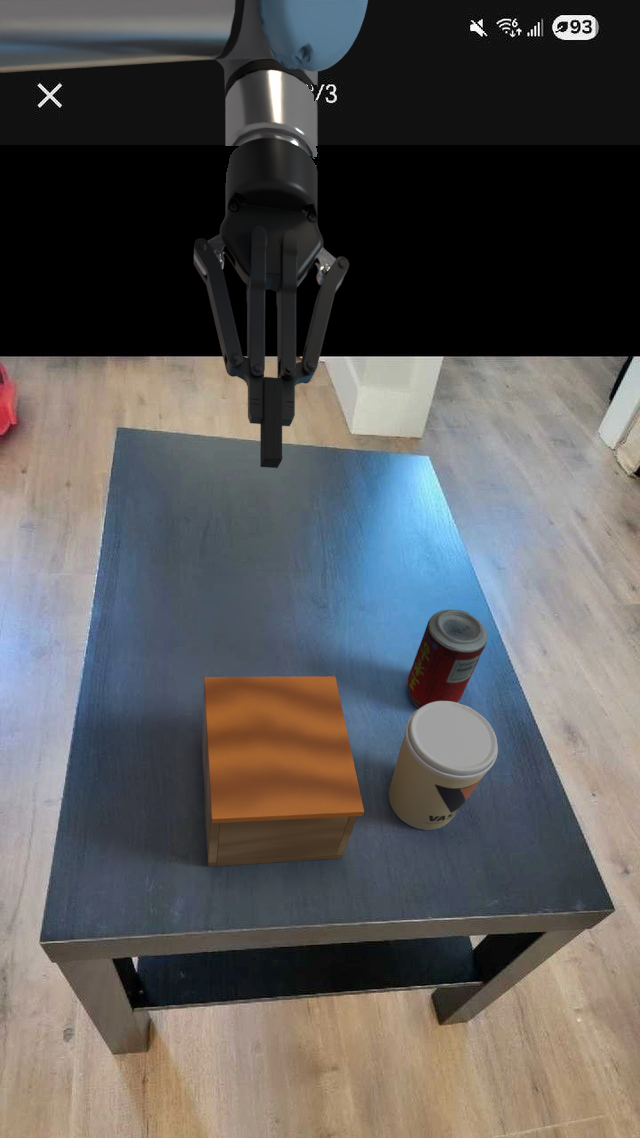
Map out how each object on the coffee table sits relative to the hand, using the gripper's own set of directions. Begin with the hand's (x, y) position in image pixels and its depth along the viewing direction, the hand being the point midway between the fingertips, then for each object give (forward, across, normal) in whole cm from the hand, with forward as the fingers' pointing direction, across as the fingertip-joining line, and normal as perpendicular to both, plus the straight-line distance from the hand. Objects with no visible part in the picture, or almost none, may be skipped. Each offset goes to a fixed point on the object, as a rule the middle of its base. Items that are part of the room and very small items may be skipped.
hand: (271, 463), depth 58 cm
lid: (+25, -2, -5) cm, 26 cm away
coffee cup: (+33, -19, -12) cm, 39 cm away
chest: (+32, -2, -13) cm, 34 cm away
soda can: (+22, -24, -23) cm, 39 cm away
